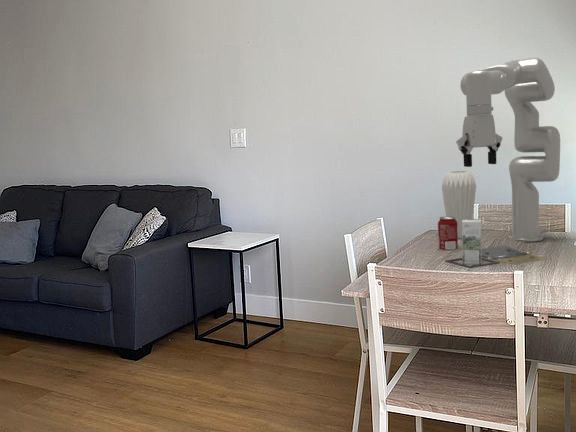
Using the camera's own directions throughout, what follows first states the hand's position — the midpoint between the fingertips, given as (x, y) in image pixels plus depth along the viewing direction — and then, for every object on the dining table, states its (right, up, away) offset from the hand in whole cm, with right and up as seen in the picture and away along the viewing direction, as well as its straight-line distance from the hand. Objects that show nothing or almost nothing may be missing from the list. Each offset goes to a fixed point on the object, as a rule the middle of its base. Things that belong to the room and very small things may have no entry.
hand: (480, 165), depth 196 cm
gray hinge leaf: (+9, -29, +9) cm, 32 cm away
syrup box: (-3, -32, -1) cm, 32 cm away
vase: (+8, -25, +51) cm, 57 cm away
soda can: (-4, -29, +24) cm, 38 cm away
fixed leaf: (+13, -31, 0) cm, 33 cm away
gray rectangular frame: (-3, -32, -1) cm, 32 cm away
